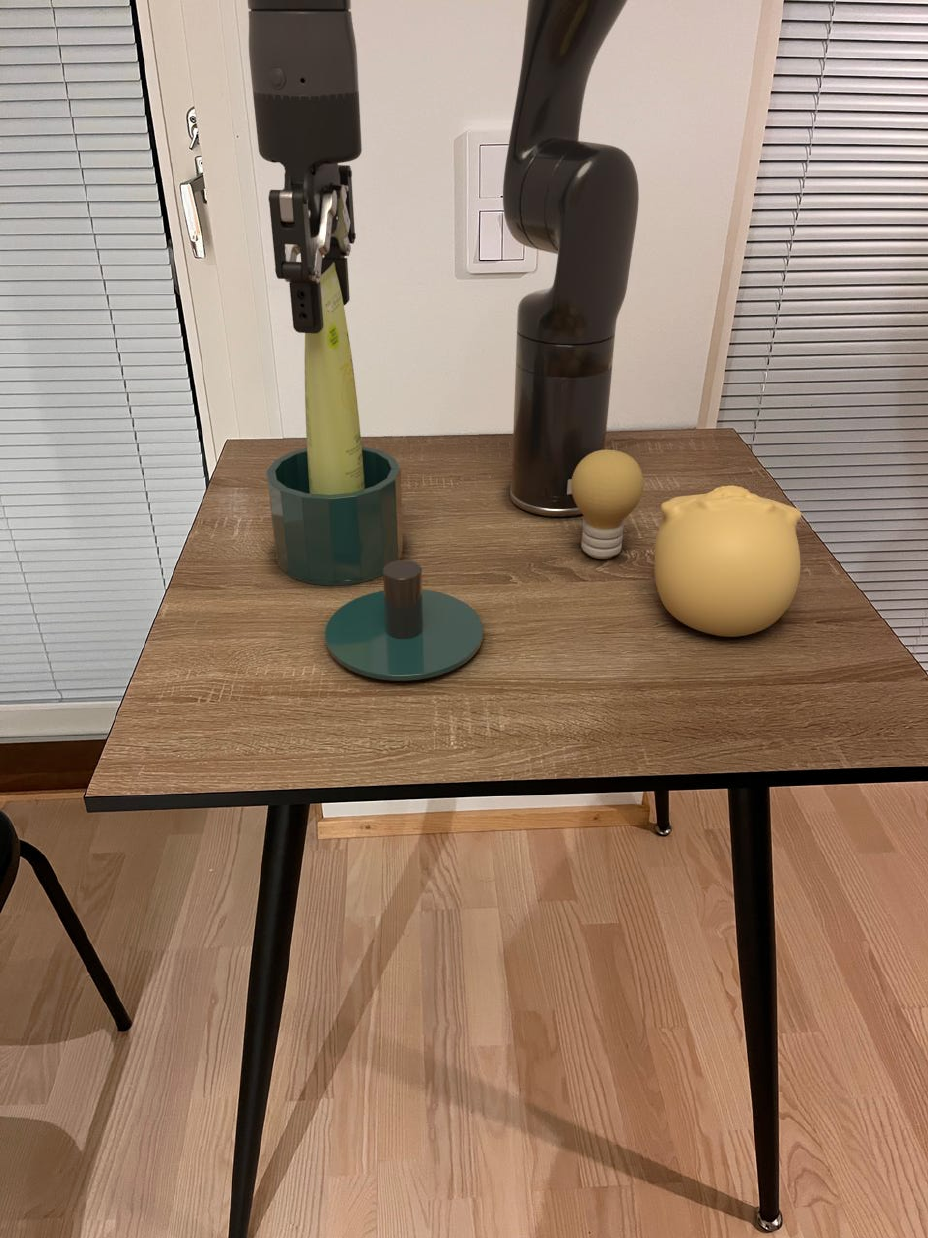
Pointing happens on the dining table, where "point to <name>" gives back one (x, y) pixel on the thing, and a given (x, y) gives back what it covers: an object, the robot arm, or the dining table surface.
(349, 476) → the tube
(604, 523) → the light bulb
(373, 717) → the dining table surface
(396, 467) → the pot
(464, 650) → the pot lid
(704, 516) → the sculpture
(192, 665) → the dining table surface
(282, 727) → the dining table surface
